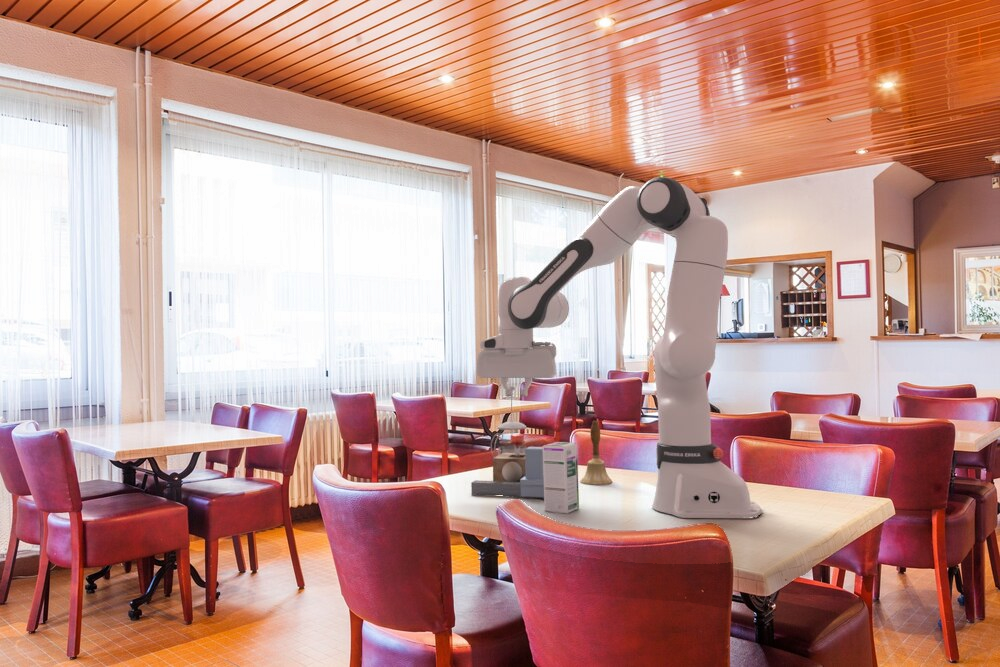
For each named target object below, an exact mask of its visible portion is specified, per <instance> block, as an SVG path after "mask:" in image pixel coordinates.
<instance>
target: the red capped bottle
mask: <svg viewBox="0 0 1000 667" xmlns="http://www.w3.org/2000/svg"><path fill="white" fill-rule="evenodd" d="M510 440H511V444H515V457H520V446H521V445H524V444H525V443H524V441H525V435H524V434H511V435H510Z"/></svg>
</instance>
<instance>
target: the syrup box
mask: <svg viewBox="0 0 1000 667" xmlns="http://www.w3.org/2000/svg"><path fill="white" fill-rule="evenodd" d="M542 447H543V478H544V498H543V499H544V500H543V502H544V505H543V506H544V511H545V512H550V513H555V514H556V513H558V514H566V515H567V514H569V513H571V512H573V511H576V510H578V509H580V498H579V497H580V494H579V469H578V468H579V463H578V444H577V443H575V442H570V441H554V442H553V443H548V444H544V445H543V446H542Z"/></svg>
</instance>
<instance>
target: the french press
mask: <svg viewBox="0 0 1000 667" xmlns="http://www.w3.org/2000/svg"><path fill="white" fill-rule="evenodd" d="M508 387H509V388H510V389H513V391H515V390H516V387H515V386H514V385H508ZM510 402H511V404H510V406H511V407H510V409H511V410H510V412H511V420H509V421H505V422H503V423H501V424H499V425H498V426H497V427H496V428H497V429H498V430H499V431H500V430H501V431H516V430H517V431H518V430H520V431H521V430H525V429H527V425H525V424H524V423H523V422H520V421H514V420H513V396H510ZM501 435H502V436H501ZM496 436H497V437H496ZM495 437H496V439H495V442H494V444H493V441H494V438H495ZM503 438H504V433H499V432H497V433H496V434H494V436H493V437H492V439H491V441H490V452H491V455H492V457H493V458H494V457H496V456H498V455H500V454H502V453H515V444H511V439H503ZM498 439H503V440H500V441H499V444H500V446H498V448H497V449H498V450H496V444H497V441H498ZM524 444H526V441H525V440H524ZM493 445H494V453H493ZM526 448H527V446H526V445H520V453H525V449H526ZM496 451H497V452H496ZM494 454H495V456H494Z"/></svg>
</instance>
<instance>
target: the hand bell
mask: <svg viewBox="0 0 1000 667" xmlns="http://www.w3.org/2000/svg"><path fill="white" fill-rule="evenodd" d="M589 432H590V440H591V443H592V459H590V460H588V461H587V465H586V471H585V473H584V474H583V477H582V478H581V479H580V483H581V484H583V485H592V486H603V485H605V484H606V485H610V484H612V483H613V480H612V478H611V477H610V476H609V474H608V472H607V469H606V464H605V463H606V462H605V461H604V460H603V459H601V458H600V447H599V446H600V440H601V428H600V425H599V423H598V421H597V420H593V421H592V424H591V427H590V431H589Z"/></svg>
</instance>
